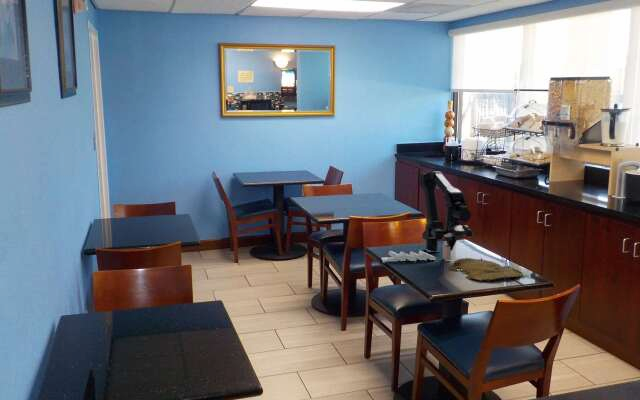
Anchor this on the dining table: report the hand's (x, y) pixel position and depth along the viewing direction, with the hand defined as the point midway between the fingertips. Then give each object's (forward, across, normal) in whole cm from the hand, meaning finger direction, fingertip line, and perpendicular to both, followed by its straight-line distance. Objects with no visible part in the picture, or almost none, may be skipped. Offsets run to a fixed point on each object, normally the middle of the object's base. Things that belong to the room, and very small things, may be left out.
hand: (450, 250), depth 272 cm
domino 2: (+4, -23, 0) cm, 23 cm away
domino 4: (+4, -13, 0) cm, 13 cm away
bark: (+5, +7, -22) cm, 24 cm away
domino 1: (+4, -26, +1) cm, 26 cm away
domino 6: (+4, -2, -1) cm, 5 cm away
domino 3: (+4, -18, 0) cm, 19 cm away
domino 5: (+4, -8, +1) cm, 9 cm away
